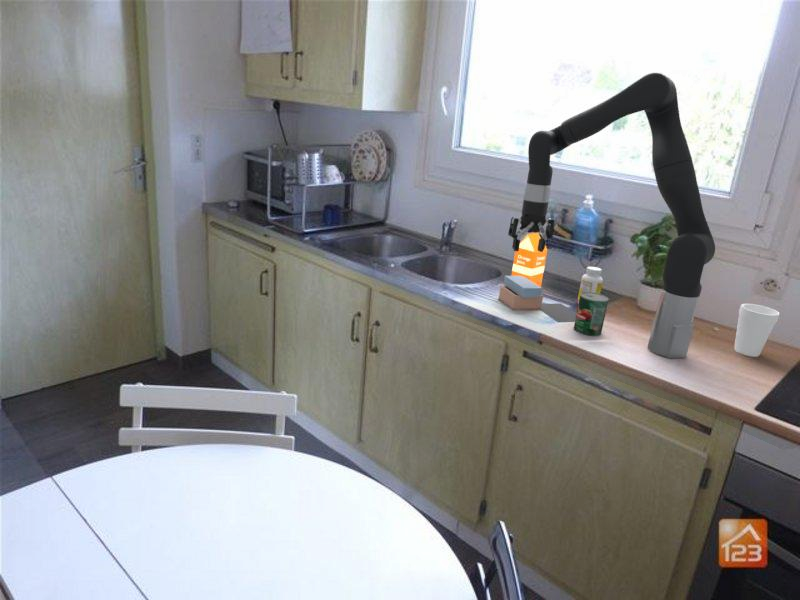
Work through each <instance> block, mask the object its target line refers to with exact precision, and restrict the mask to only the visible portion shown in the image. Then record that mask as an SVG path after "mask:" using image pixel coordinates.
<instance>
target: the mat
mask: <svg viewBox="0 0 800 600" xmlns="http://www.w3.org/2000/svg"><path fill="white" fill-rule="evenodd" d="M539 310H540V311H541V312H542V313H544V314H545V315H547V316H549V318H551V319H553V320H554V321H555V322H557V323H575V319H576V314H577V312H575V311H574V310H572V309H571V308H569V307H568V306H566V305H564V304H563V303H560V302H559V303H542V305H541V309H539Z"/></svg>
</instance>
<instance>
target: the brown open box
mask: <svg viewBox="0 0 800 600" xmlns="http://www.w3.org/2000/svg"><path fill="white" fill-rule="evenodd" d="M499 287H500V288H499V294H498V300H499V301H500V302H502V303H503V304H504V305H505V306H507V307H508V308H509V309H510V310H512V311H526V310H527V311H528V310H529V311H530V310H539V309H541V305H542V304H543V298H544V294H541V297H525V298H522V297H521V296H519V295H518V294H517V293H515V292H514V291H512V290H511V289H509V288H508V287H506V286H505V285H500V286H499Z"/></svg>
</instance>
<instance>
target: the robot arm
mask: <svg viewBox="0 0 800 600" xmlns="http://www.w3.org/2000/svg"><path fill="white" fill-rule="evenodd" d="M677 91H678V90H677V87H676V84H675V83H674V81H673V80H672V79H671V78H670V77H668V76H666V75H665V74H663V73H660V72H651V73H648V74H645V75H643V76H641V78H638V79H637V80H636V81H634V82H632V83H631V84H629V86H627V87H626V88H624V89H623V90H621V91H620V92H618V93H617V94H615V95H613V96H611V97H610V98H608V99H606V100H604V101H602V102H601V103H598V104H597V105H595V106H592V107H591V108H588V109H587V110H584V111H582V112H580V113H578V114H576V115H573V116H571V117H569V118H568V119H566V120H563V122H562V123H561V124H560V125H559V126H557V127H555V128H553V129H550V130H539V131H536V132H535V133H534V134H533V135H532V136H531V138H530V140H529V143H528V149H527V150H528V151H527V152H528V154H527V155H528V167H529V169H528V174H527V180H526V185H525V189H524V194H523V200H522V201H523V203H522V207H521V216H520V217H516V216H512V217H511V218H510V223H509V227H508V228H509V229H508V234H507V235H508V236H509V237H511V238H513V240H512V247H511V248H512V250H513V251H514V252H515V251H519V246H520V242H521V238H523V236H524V235H526V234H527V233H528V234H531V233H538V234H539V236H540V239H539V243H538V251H540V252H543V250H544V249H545V245H546V243H547V240H549V239H553V237H554V230H555V219H553V218H550V217H546V216H547V214H548V207H549V203H550V202H549V201H550V196H551V185H552V179H553V173H554V172H553V167H552V166H551V156H552V155H555V154H557V153H559V152H561V151H563V150H565V149H566V148H568V147H570V146H571V145H573V144H575V143H578V142H580V141H583V140H586V139H588V138H589V137H591V136H594V135H595V134H597V133H599V132H601V131H602V130H604V129H606V128H607V127H609V126H610V125H611V124H613V123H615V122H616V121H618V120H620V119H623V118H624V117H627V116H629V115H632V114H635V113H639V112H642V111H644V113H645V116H646V119H647V121H648V124H649V127H650V132H651V136H652V139H651V140H652V145H651V146H652V150H651V151H652V152H651V153H652V155H651V156H652V158H651V161H652V168H653V173H654V177H655V181H656V182H655V183H656V185H657V189H658V190H659V193H660V195H661V197H662V199H663V200H664V202H665V204H666V206H667V208H668V209H669V211H670V212H671V214H672V217H673V219H674V223H675V226H676V227H675V228H676V232H677V237H675V238H674V239H673V240H672V241H671V243H670V245H669V247H668V250H667V255H666V259H665V264H664V267H663V273H662V282H663V283H662V287H661V288H662V289H661V291H660V296H659V299H658V304H657V308H656V311H655V316H654V318H653V323H652V328H651V330H650V331H651V332H650V335H649V339H648V343H647V349H648V350H649V351H651V352H652V353H654V354H657V355H660V356H663V357H666V358H667V359H676V358H677V359H678V358H679V359H680V358H687V355H688V352H689V349H690V343H691V341H692V337H693V334H694V331H695V330H694V329H695V328H696V327H695V324H694V323H693V321H694V318H695V314H696V311H697V307H698V303H699V300H700V296H701V292H702V288H703V286H702V284H701V279H702V274H703V271H704V266H705V265H706V264H708V263H709V262H710V261H711V260H712V259H713V258H714V256H715V254H716V244H715V240H714V238H713V234H712V232H711V230H710V227H709V223H708V221H707V218H706V216H705V212H704V209H703V204H702V199H701V192H700V189H699V184H698V181H697V180H698V179H697V176H696V170H695V166H694V165H695V164H694V162H693V158H692V154H691V151H690V148H689V145H688V141H687V138H686V135H685V132H684V130H683V126H682V122H681V117H680V110H679V103H678V92H677ZM519 225H520V226H519ZM518 226H519V227H518ZM544 226H546V227H545V229H544Z"/></svg>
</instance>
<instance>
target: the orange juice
mask: <svg viewBox="0 0 800 600" xmlns="http://www.w3.org/2000/svg"><path fill="white" fill-rule="evenodd" d="M539 239H540V236H539V234H538V233H534V232H531V233H528V234H527V235H526V236H525V237H524V238H523V239H521V240H520V246H519V251H514V257H513V264H512V269H511V275H510V276H523V277H525V278H527V279H528V280H530V281H532V282H533V283H535V284H536V285H538V286H540V287H541V288H542V282H543V276H544V272H545V267H546V259H547V254H548V248H547V246H546V244H545V249H544V250H543V252H540V251H538V243H539Z"/></svg>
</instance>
